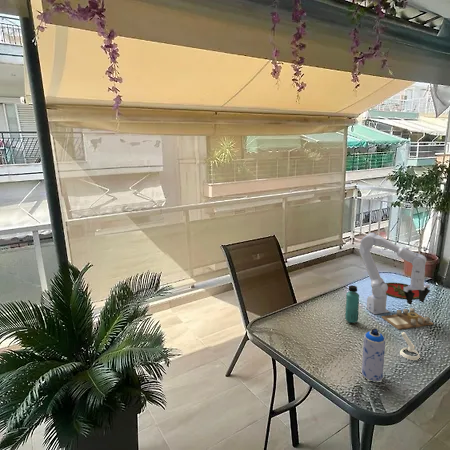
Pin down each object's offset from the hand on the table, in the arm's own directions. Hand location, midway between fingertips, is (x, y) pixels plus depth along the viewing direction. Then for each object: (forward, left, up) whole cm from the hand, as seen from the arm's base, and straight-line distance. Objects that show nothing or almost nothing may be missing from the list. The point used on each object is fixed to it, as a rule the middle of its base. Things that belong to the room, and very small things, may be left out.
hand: (415, 302), depth 160 cm
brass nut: (-1, -1, -9) cm, 9 cm away
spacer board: (-5, -1, -9) cm, 11 cm away
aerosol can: (-49, -34, -10) cm, 60 cm away
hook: (-25, -26, -10) cm, 37 cm away
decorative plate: (+19, +32, -10) cm, 39 cm away
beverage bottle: (-33, +5, -10) cm, 35 cm away
